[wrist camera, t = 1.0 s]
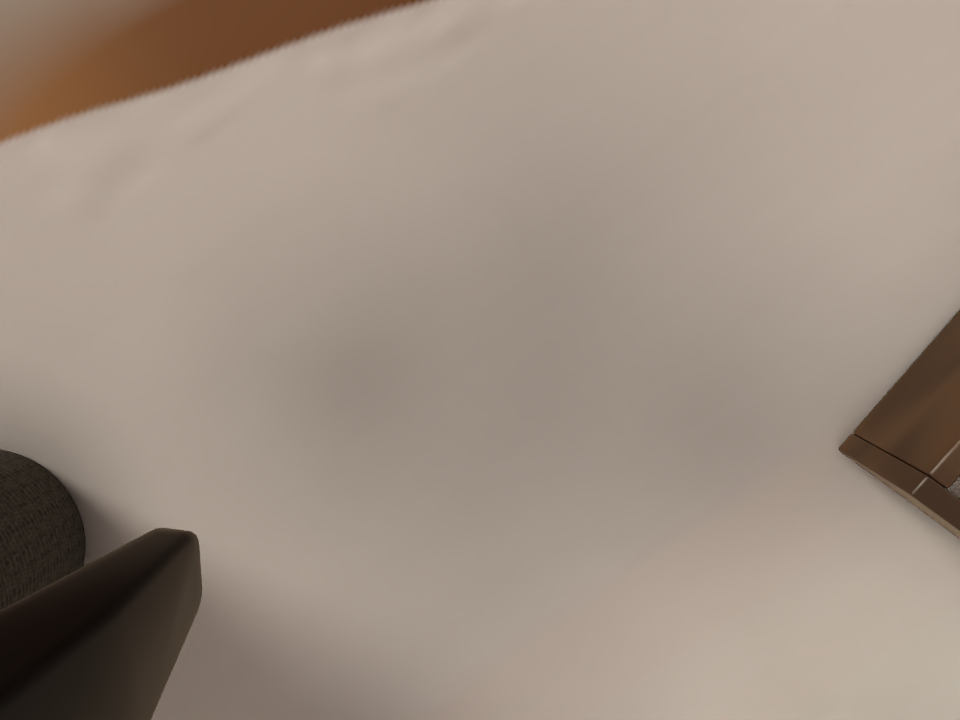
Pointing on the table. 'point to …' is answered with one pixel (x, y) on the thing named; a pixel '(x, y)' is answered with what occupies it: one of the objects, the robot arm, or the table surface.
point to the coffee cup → (35, 529)
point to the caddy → (918, 432)
